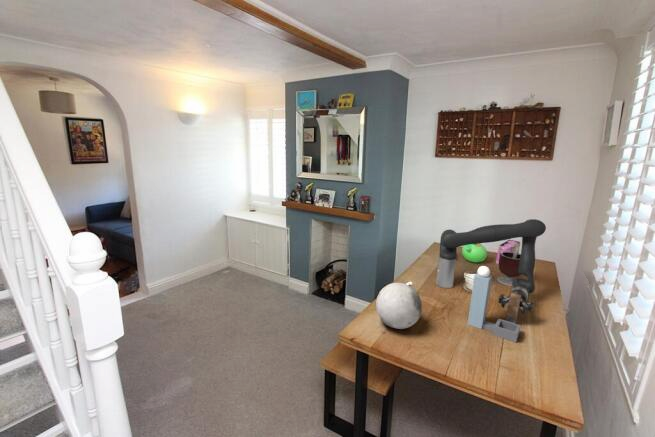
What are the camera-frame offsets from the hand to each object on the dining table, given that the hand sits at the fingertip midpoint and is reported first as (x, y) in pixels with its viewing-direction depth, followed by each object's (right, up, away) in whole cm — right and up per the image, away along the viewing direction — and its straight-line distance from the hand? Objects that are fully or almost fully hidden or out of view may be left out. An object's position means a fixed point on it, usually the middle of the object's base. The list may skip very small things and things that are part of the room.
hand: (512, 308), depth 146 cm
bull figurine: (-44, -2, +25) cm, 50 cm away
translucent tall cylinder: (+1, -7, +3) cm, 8 cm away
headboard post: (-11, -9, -3) cm, 14 cm away
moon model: (-54, -7, -1) cm, 54 cm away
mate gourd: (+27, +3, +50) cm, 57 cm away
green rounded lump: (+19, +11, +83) cm, 85 cm away
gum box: (+45, +10, +84) cm, 96 cm away
